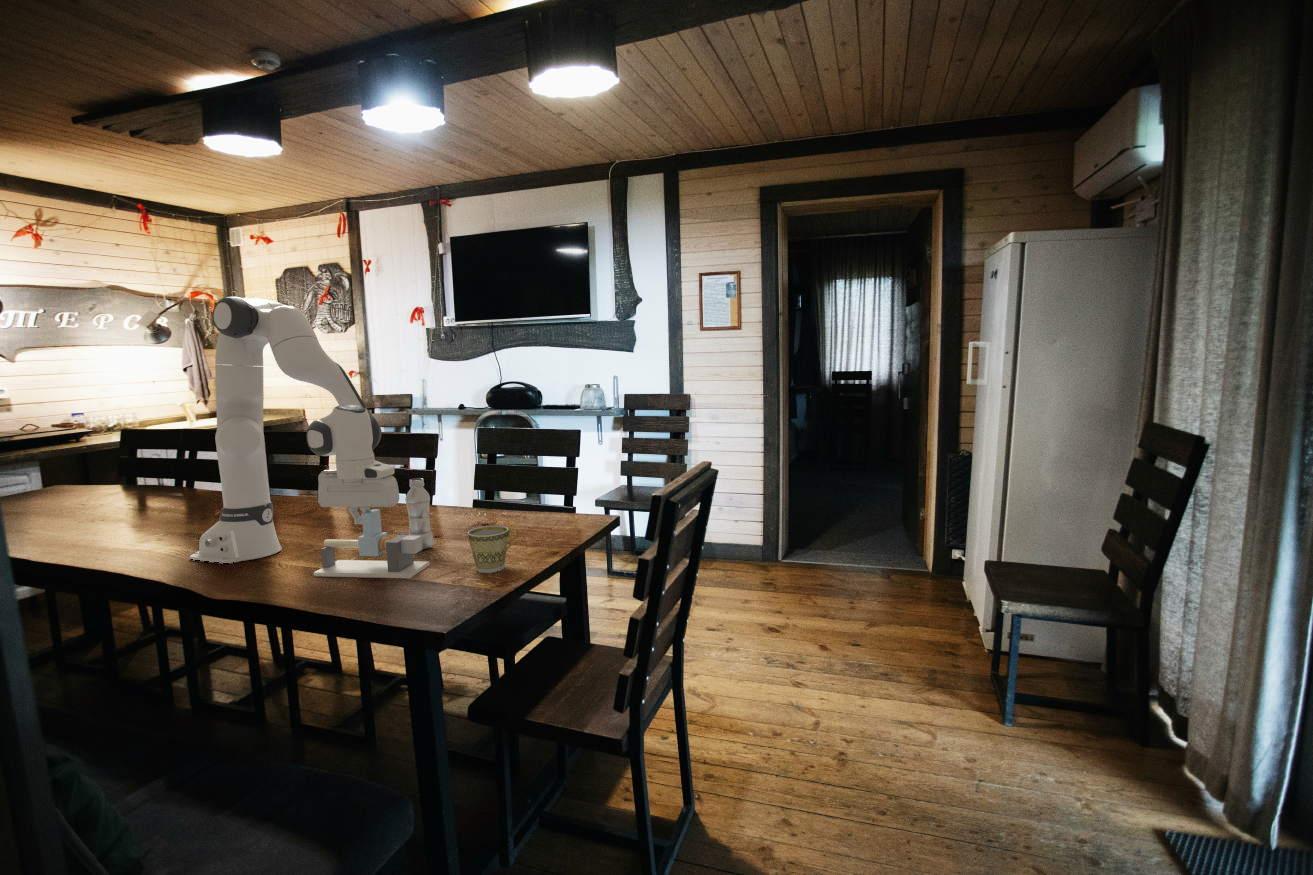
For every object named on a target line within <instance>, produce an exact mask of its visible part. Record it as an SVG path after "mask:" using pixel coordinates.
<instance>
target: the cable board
mask: <svg viewBox="0 0 1313 875" xmlns="http://www.w3.org/2000/svg"><path fill="white" fill-rule="evenodd" d="M335 548H340V549H341V548H346V549H347V548H351V549H352V548H353V549H354V548H355V549H359V544H358V539H337V538H335V539H331V538H330V539H328V538H327V539H324V541H323V547H322V548H320V551H321V552H320V554H321V555H320V556H321V563H322V565H321V566H322V567H321V568H320V569H318V570H315V571H313V577H327V578H328V577H329V578H330V577H333V578H334V577H335V578H371V579H372V578H382V579H384V578H385V579H411V578H413V577H414V576H416V575H417V574H418V573H420V572H422V571H423V570H424V569H426V568H428V567H430V561H419V560H417V561H416V560H414V554H415V555H416V554H418V553H419V552H421V551H422V536H412V535H409V534H399V535H396V536H395V537H394V538H392V539H390V537H389V536H388V537H382V538H381V539H380V540H379V549H380V551H386V552H385V553H386V560H368V559H367V560H366V559H365V560H362V559H360V560H358V559H357V560H356V559H350V560H349V559H337V560H336V556H335Z"/></svg>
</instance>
